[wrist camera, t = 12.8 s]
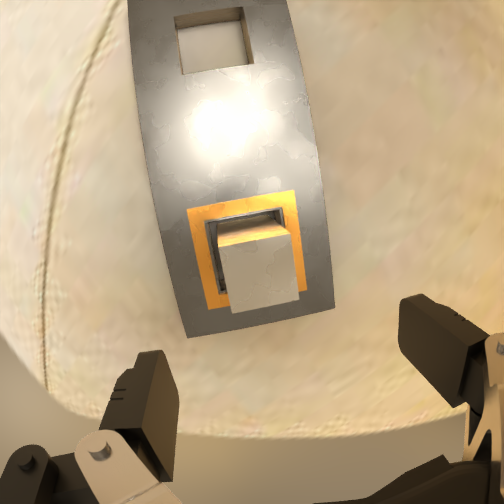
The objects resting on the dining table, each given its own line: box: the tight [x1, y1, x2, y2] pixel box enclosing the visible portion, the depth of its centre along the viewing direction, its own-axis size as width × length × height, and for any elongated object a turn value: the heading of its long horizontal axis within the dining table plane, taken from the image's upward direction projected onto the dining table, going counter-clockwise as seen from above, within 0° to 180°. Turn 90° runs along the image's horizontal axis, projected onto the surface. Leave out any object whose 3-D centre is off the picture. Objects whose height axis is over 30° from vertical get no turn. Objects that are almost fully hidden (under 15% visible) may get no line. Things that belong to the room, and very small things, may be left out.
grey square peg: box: [217, 214, 299, 314], centre depth 22 cm, size 4×4×8 cm
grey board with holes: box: [127, 0, 335, 338], centre depth 22 cm, size 28×12×3 cm, turn 10°
